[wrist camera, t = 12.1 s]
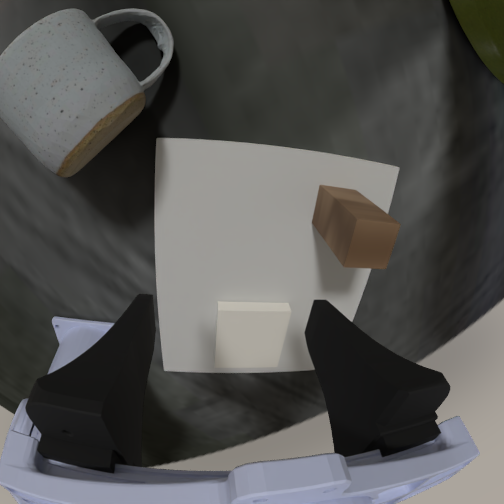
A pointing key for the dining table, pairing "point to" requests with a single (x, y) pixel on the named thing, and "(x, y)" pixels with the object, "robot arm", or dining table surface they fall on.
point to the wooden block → (354, 228)
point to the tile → (250, 334)
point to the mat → (249, 241)
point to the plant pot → (484, 30)
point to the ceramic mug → (73, 86)
